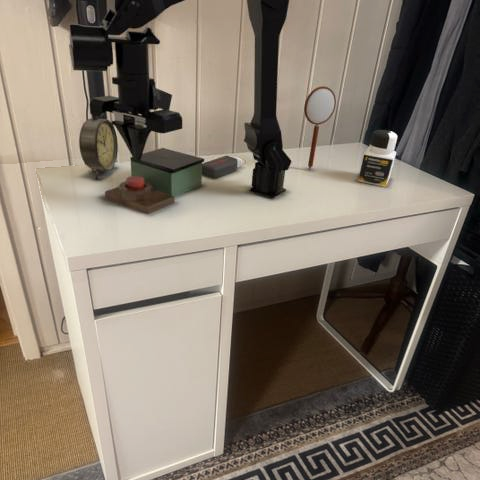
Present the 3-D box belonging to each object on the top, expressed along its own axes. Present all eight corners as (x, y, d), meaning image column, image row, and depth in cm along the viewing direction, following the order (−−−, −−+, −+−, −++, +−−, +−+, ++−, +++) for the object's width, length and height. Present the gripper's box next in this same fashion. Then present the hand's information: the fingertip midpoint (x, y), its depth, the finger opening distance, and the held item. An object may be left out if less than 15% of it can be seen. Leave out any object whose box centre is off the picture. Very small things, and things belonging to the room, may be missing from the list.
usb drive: (197, 173, 113) (198, 162, 112) (227, 163, 121) (228, 152, 120) (214, 179, 111) (214, 167, 109) (243, 168, 119) (244, 157, 117)
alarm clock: (101, 182, 104) (93, 104, 94) (78, 178, 105) (68, 100, 95) (121, 167, 113) (115, 94, 103) (100, 164, 113) (92, 92, 104)
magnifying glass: (321, 167, 124) (336, 85, 113) (325, 169, 123) (340, 87, 112) (293, 169, 121) (305, 85, 110) (296, 171, 120) (309, 87, 108)
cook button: (148, 187, 95) (148, 179, 94) (136, 192, 93) (135, 183, 92) (135, 183, 97) (135, 174, 96) (122, 187, 94) (122, 179, 93)
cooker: (201, 185, 107) (202, 162, 104) (171, 198, 99) (171, 173, 96) (163, 173, 112) (162, 150, 109) (131, 184, 104) (130, 160, 101)
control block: (174, 203, 97) (174, 186, 95) (147, 214, 92) (146, 197, 90) (132, 188, 102) (131, 172, 100) (104, 198, 97) (102, 182, 94)
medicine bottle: (357, 181, 117) (368, 132, 110) (362, 173, 123) (373, 126, 116) (385, 187, 116) (399, 137, 109) (389, 179, 121) (402, 131, 114)
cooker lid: (204, 161, 103) (204, 158, 103) (173, 172, 96) (173, 169, 96) (162, 150, 109) (162, 147, 108) (130, 160, 101) (130, 157, 101)
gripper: (201, 76, 85) (199, 162, 94) (127, 61, 92) (131, 142, 101) (161, 82, 77) (163, 175, 86) (83, 65, 84) (92, 152, 94)
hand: (137, 159), depth 92 cm, fingers closed
